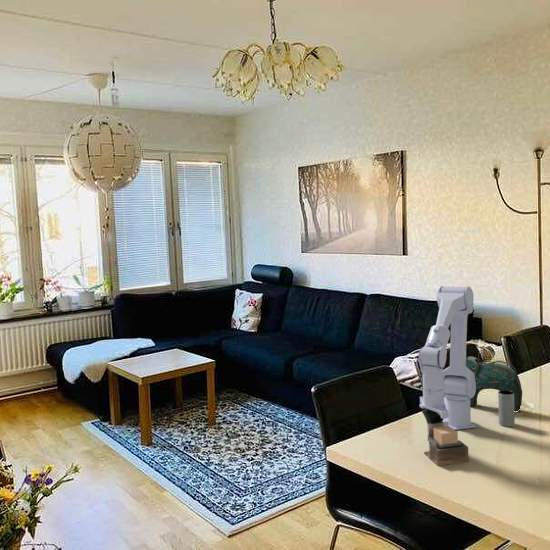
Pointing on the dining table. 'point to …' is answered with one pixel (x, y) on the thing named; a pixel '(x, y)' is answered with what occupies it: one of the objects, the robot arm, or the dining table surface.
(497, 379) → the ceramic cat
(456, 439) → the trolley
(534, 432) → the dining table surface
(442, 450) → the dock
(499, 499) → the dining table surface
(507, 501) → the dining table surface
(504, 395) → the grey cylinder
